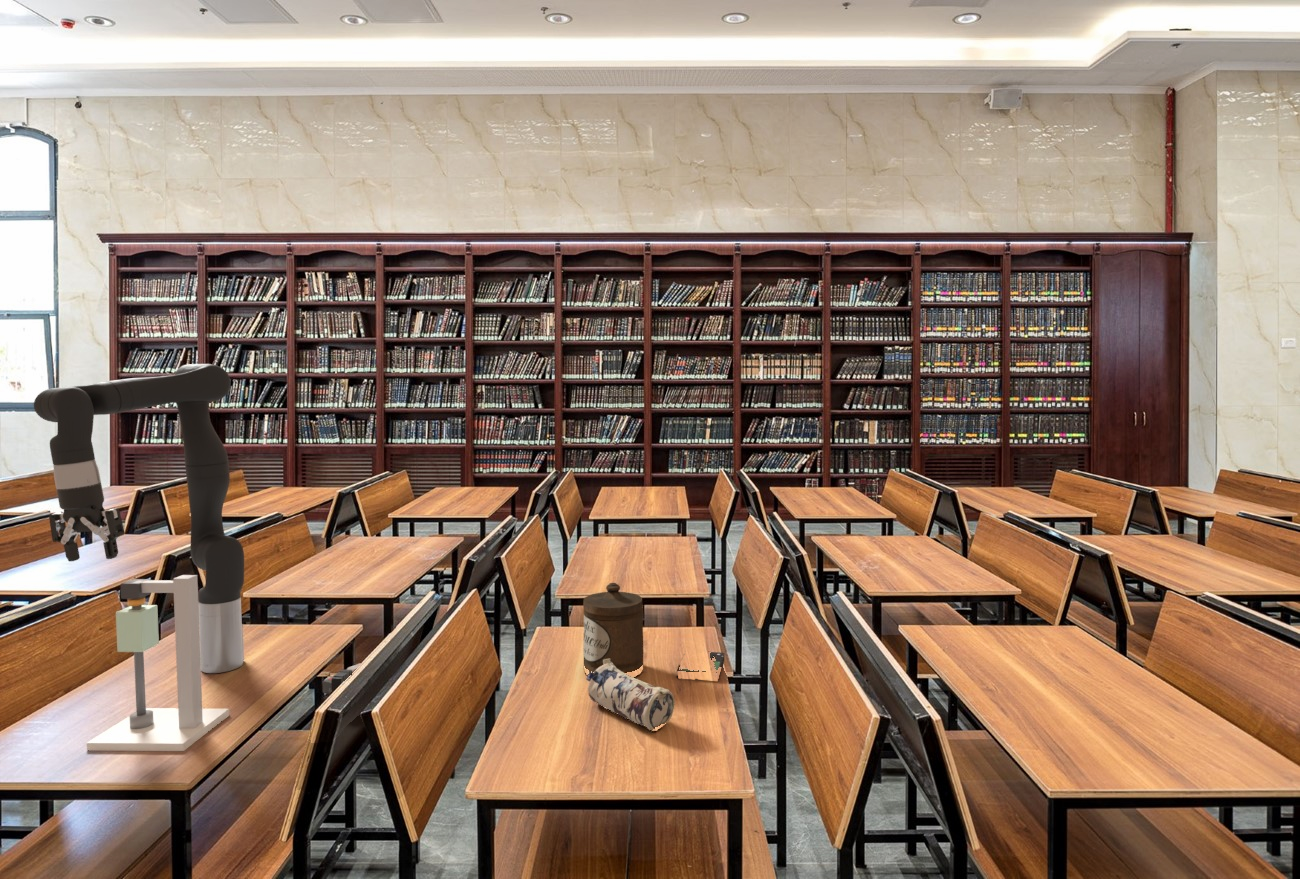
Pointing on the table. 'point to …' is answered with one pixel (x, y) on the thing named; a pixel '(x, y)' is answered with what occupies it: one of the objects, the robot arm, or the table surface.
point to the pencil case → (630, 696)
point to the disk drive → (718, 662)
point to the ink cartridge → (340, 678)
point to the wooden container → (613, 629)
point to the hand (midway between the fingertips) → (93, 559)
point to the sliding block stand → (189, 719)
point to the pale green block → (137, 629)
